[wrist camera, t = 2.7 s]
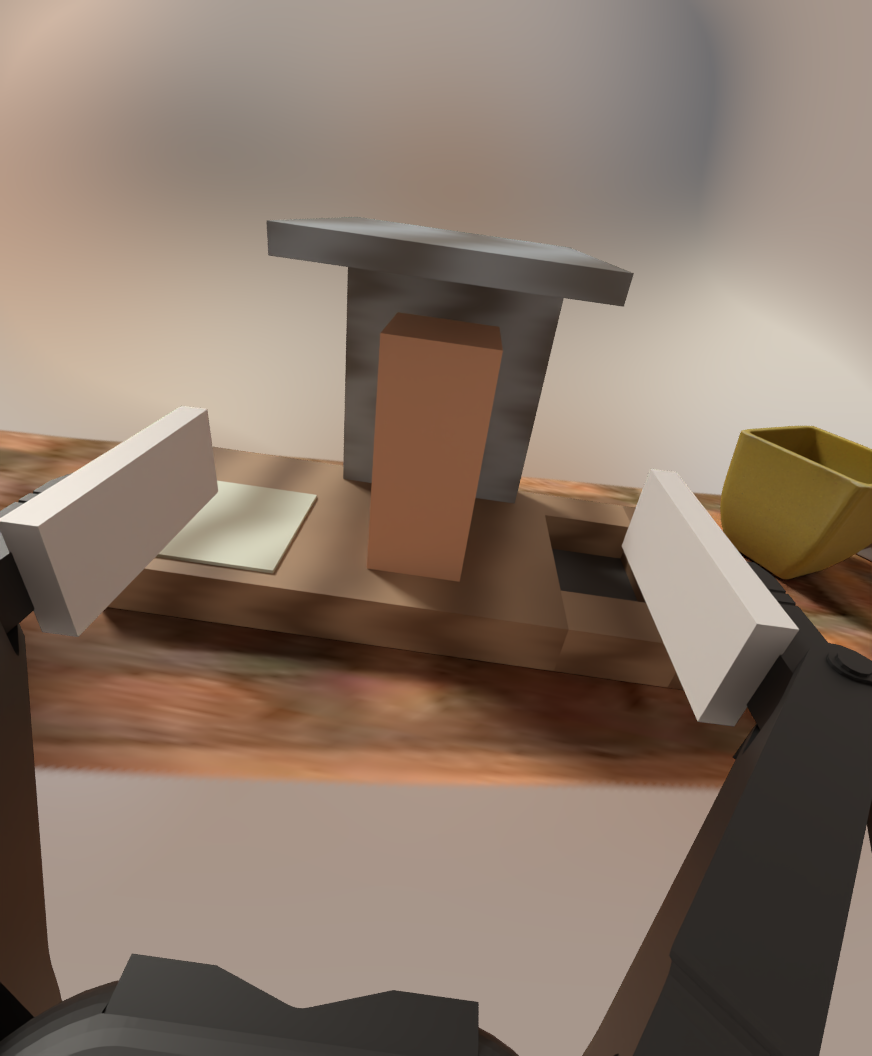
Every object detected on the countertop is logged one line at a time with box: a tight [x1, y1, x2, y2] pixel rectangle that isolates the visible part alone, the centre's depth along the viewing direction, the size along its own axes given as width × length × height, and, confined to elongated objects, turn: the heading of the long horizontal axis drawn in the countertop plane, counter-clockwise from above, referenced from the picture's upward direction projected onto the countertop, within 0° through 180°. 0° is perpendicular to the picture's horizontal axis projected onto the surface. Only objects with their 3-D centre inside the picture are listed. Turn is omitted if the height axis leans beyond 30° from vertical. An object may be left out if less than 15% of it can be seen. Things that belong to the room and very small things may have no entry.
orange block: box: [367, 312, 503, 582], centre depth 26 cm, size 5×5×12 cm
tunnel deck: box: [108, 217, 684, 690], centre depth 27 cm, size 32×14×18 cm, turn 86°
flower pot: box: [720, 426, 872, 579], centre depth 36 cm, size 9×9×9 cm
